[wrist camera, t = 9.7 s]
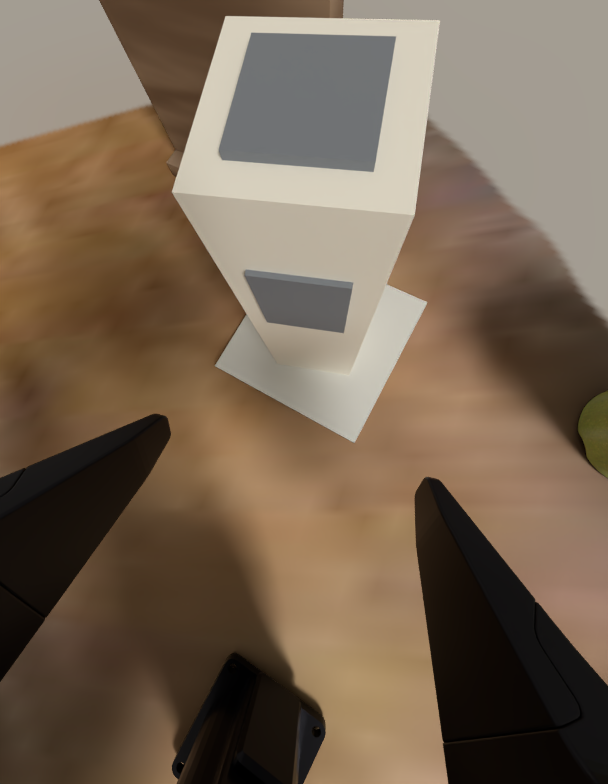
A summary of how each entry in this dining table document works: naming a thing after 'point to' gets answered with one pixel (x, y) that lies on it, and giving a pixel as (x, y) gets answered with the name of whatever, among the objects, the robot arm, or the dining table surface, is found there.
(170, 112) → the walnut screen
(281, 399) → the felt pad
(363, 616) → the dining table surface
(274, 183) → the cream block grey panels
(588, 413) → the plant pot
